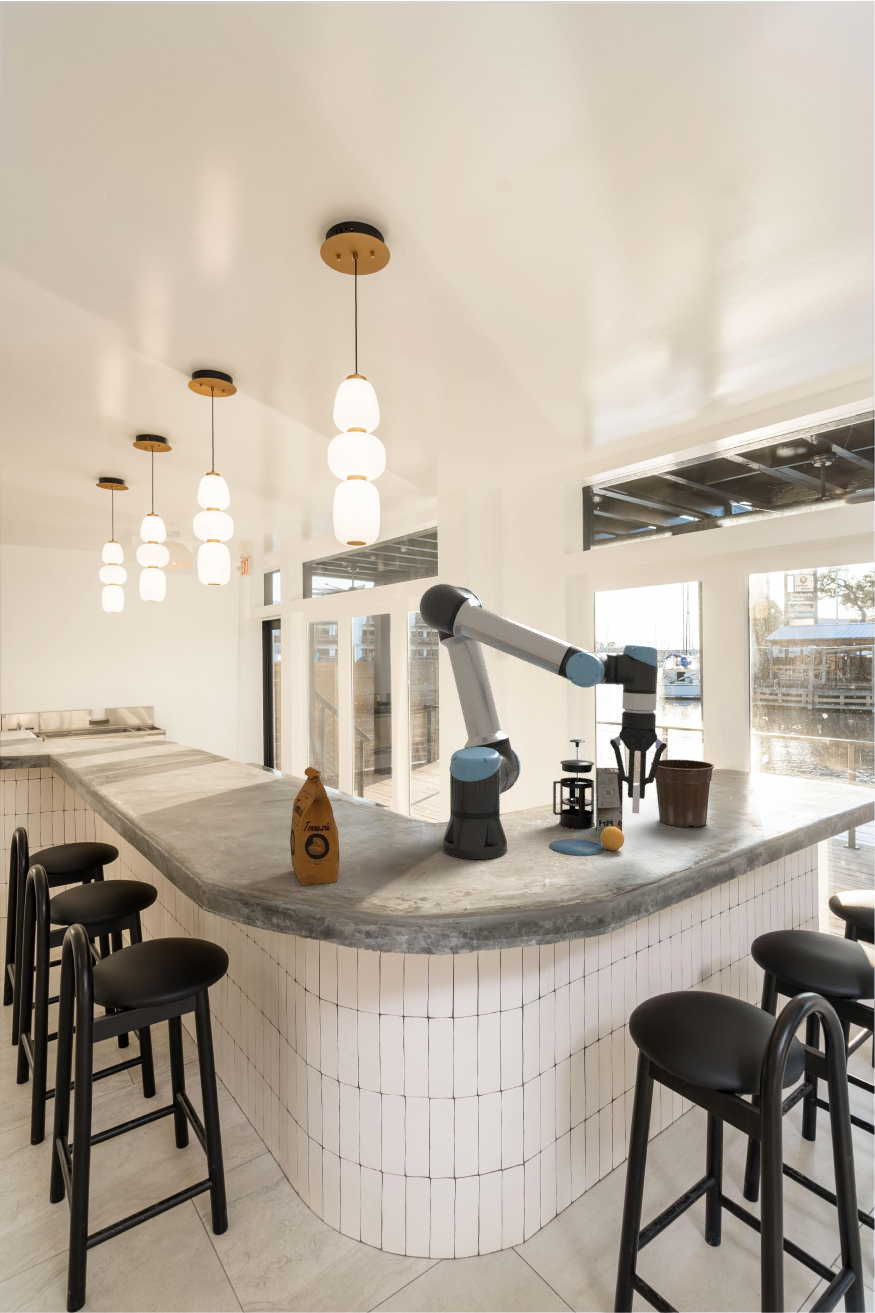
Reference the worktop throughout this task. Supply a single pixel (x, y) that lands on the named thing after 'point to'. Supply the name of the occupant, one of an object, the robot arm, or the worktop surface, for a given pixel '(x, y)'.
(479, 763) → the robot arm
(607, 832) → the ball
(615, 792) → the coffee box
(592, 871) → the worktop surface
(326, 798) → the coffee package
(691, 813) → the plant pot
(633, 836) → the worktop surface
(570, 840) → the disc
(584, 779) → the french press
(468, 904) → the worktop surface
